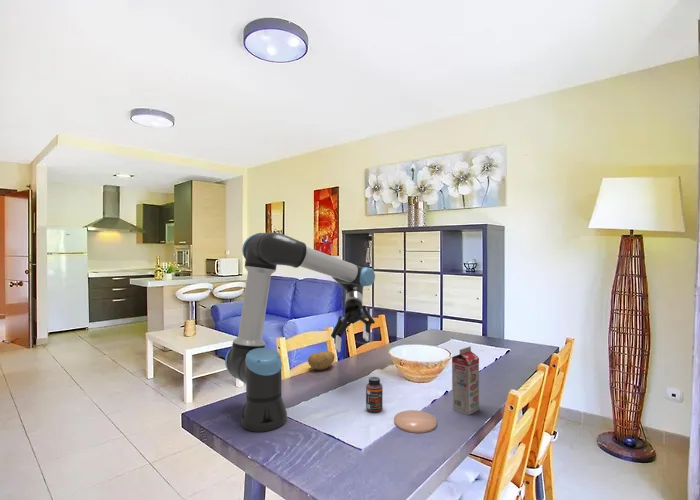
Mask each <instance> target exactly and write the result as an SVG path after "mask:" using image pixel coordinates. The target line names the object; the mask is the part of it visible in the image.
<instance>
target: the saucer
mask: <svg viewBox="0 0 700 500" xmlns="http://www.w3.org/2000/svg"><path fill="white" fill-rule="evenodd" d="M393 423H394V425H395V427H396V428H398V429H399V430H402V431H404V432H407V433H413V434H425V433H429V432H431V431H433V430H435V429H436V427H438V426H437V418H436V417H435V416H434V415H433V414H431V413H429V412H427V411H426V412H425V411H424V410H423V411H422V410H413V409H412V410H411V409H409V410H402V411H399V412H398V413H397V414H395V415H394V418H393Z"/></svg>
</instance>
